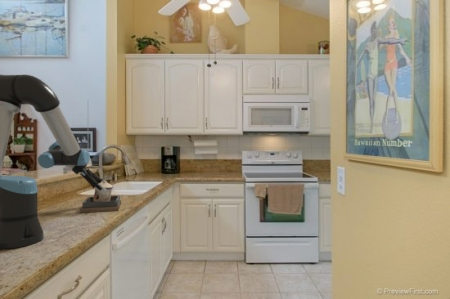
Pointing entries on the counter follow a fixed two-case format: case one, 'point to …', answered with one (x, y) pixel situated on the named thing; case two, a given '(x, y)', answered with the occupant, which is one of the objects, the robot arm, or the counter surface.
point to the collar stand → (101, 205)
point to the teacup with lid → (99, 196)
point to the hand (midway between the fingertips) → (107, 191)
